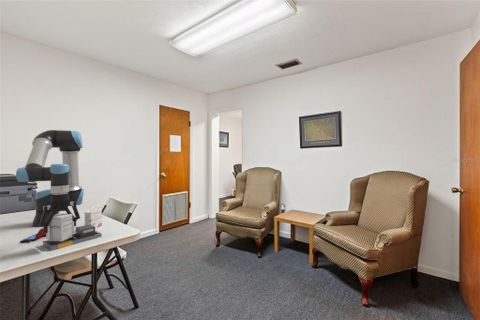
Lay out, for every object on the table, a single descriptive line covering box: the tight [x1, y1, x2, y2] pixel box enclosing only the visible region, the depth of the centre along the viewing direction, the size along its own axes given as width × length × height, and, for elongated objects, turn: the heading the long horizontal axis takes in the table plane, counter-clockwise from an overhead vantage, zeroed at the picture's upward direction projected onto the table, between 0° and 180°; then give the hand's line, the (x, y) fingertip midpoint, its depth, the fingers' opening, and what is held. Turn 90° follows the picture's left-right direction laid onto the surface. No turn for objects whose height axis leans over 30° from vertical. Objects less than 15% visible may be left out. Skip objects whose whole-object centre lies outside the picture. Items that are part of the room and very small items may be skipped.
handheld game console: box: [19, 227, 46, 244], centre depth 127 cm, size 12×11×7 cm
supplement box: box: [47, 213, 73, 241], centre depth 117 cm, size 7×7×13 cm
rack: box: [42, 230, 102, 251], centre depth 122 cm, size 12×23×3 cm, turn 146°
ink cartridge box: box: [83, 204, 103, 230], centre depth 144 cm, size 9×5×15 cm, turn 168°
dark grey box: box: [75, 224, 96, 239], centre depth 127 cm, size 7×7×6 cm
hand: (60, 235), depth 118 cm, fingers closed on supplement box, 10 cm apart
